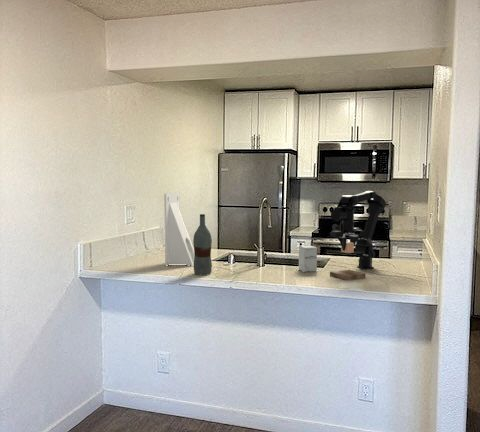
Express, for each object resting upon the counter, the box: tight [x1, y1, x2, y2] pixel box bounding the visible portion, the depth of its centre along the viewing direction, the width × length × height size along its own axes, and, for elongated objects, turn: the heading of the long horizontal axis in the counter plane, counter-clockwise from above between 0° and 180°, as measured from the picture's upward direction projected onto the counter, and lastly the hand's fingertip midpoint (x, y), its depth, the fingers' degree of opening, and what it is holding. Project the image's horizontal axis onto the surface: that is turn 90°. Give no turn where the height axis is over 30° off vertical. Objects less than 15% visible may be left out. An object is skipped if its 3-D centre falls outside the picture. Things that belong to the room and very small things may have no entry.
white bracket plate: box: [163, 192, 195, 265], centre depth 259 cm, size 20×14×40 cm
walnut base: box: [329, 269, 366, 281], centre depth 226 cm, size 12×12×2 cm
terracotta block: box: [340, 241, 355, 254], centre depth 239 cm, size 4×4×5 cm
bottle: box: [192, 213, 213, 276], centre depth 233 cm, size 9×9×30 cm
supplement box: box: [298, 245, 318, 273], centre depth 242 cm, size 7×7×13 cm
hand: (347, 250), depth 239 cm, fingers closed on terracotta block, 4 cm apart
